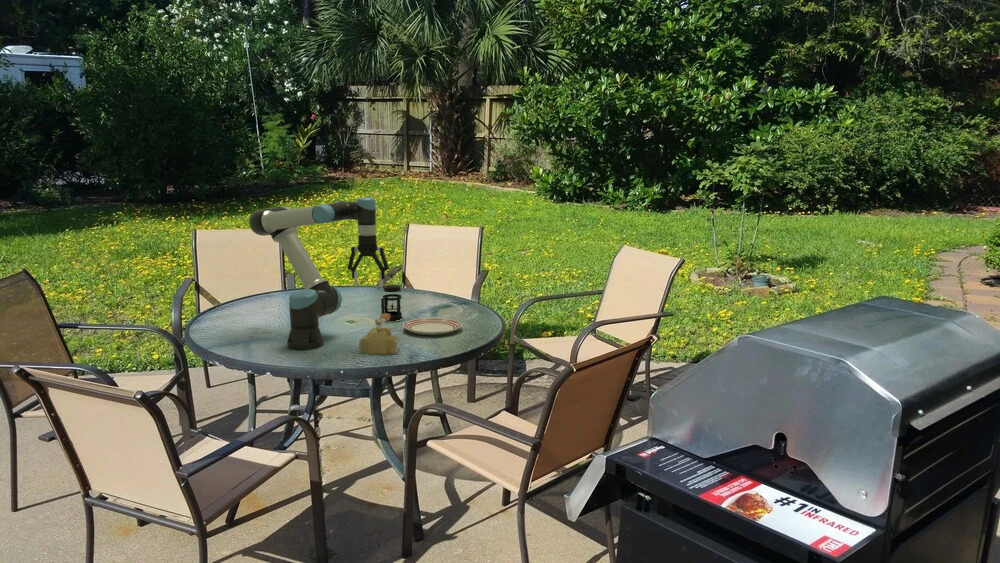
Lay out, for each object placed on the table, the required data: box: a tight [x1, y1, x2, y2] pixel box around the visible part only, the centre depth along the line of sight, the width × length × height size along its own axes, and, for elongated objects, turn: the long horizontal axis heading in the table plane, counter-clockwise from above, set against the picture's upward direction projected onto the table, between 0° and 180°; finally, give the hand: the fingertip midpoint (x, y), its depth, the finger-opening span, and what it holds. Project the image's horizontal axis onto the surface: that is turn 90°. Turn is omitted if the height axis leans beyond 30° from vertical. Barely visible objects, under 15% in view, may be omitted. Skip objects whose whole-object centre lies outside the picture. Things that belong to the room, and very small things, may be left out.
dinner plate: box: [402, 317, 463, 336], centre depth 343 cm, size 28×27×3 cm
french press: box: [380, 273, 403, 321], centre depth 359 cm, size 12×9×23 cm
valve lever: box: [374, 312, 390, 331], centre depth 313 cm, size 3×16×4 cm, turn 175°
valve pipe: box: [358, 327, 401, 356], centre depth 308 cm, size 16×8×9 cm, turn 85°
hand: (368, 286), depth 314 cm, fingers open, 10 cm apart
